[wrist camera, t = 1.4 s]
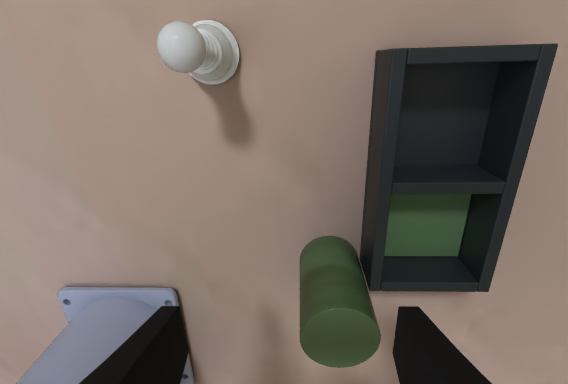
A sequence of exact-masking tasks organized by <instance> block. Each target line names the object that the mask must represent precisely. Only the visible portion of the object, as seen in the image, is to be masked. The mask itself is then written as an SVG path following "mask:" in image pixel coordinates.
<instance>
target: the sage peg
mask: <svg viewBox="0 0 568 384" xmlns="http://www.w3.org/2000/svg"><path fill="white" fill-rule="evenodd" d="M380 340H381V334H380V330H379V326H378V323H377V319H376V316H375V313H374V309H373V306H372V303H371V299H370V296H369V292H368V289H367V286H366V282H365V279H364V276H363V272H362V269H361V265H360V262H359V259H358V255H357V252H356V250H355V249H354V247H353V246H352V245H351V244H350V243H349V242H348V241H346V240H344V239H342V238H339V237H334V236H325V237H320V238H317V239H315V240H313V241H311V242H310V243H309V244H307V245H306V246H305V248H304V249H303V251H302V253H301V256H300V343H301V346H302V348H303V350H304V352H305V353H306V354H307V355H308V356H309V357H310V358H311V359H312V360H314V361H315V362H317V363H319V364H322V365H325V366H329V367H338V368H340V367H350V366H354V365H357V364H360V363H362V362H364V361H366V360H367V359H369V358H370V357H371V356H372V355H373V354H374V353H375V352H376V350H377V349H378V347H379V344H380Z"/></svg>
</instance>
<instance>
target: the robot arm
mask: <svg viewBox="0 0 568 384" xmlns="http://www.w3.org/2000/svg"><path fill="white" fill-rule="evenodd" d="M58 298H59V300H60V303H61V305H62V308H63V310H64V313H65V316H66V318H67V321H68V323H69V324H68V325H67V326H66V327H65V328H64V329H63V330H62V331H61V333H60V334H59V335H58V336H57V337H56V338H55V339H54V341H53V342H52V343H51V344H50V345H49V346H48V347H47V349H46V350H45V351H44V352H43V353H42V354H41V355H40V357H39V358H38V359H37V360H36V361H35V362H34V363H33V365H32V366H31V367H30V368H29V369H28V370H27V371H26V373H25V374H24V375H23V376H22V377H21V378H20V379H19V381H18V382H17V383H16V384H194V377H193V372H192V367H191V362H190V357H189V348H188V343H187V339H186V334H185V330H184V325H183V320H182V316H181V311H180V306H179V303H178V298H177V294H176V292H175V291H174V290H173V289H171V288H135V287H63V288H62V289H61V290H60V291H59V292H58ZM168 300H169V301H171V302H169V301H168ZM393 356H394V361H395V365H396V370H397V374H398V378H399V382H400V384H492V383H491V382H490V381H489V380H488V379H486V378H485V377H484V376H483V375H482V374H481V373H480V372H479V371H478V370H477V369H476V368H475V367H474V366H473V365H472V363H471V362H470V361H469V360H468V359H467V358H466V357H465V356H464V355H463V354H462V353H461V352H460V351H459V350H458V349H457V348H456V347H455V346H454V345H453V344H452V343H451V342H450V341H449V339H448V338H447V337H446V336H445V335H444V334H443V333H442V332H441V331H440V330H439V329H438V328H437V326H436V325H435V324H434V323H433V322H432V321H431V320H430V319H429V318H428V316H427V315H426V314H425V313H424V312H423V311H422V310H421V309H420V308H419V307H399V309H398V316H397V324H396V331H395V339H394V347H393Z"/></svg>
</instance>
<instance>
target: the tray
mask: <svg viewBox="0 0 568 384" xmlns="http://www.w3.org/2000/svg"><path fill="white" fill-rule="evenodd" d="M557 47H558V44H526V45H494V46H463V47H432V48H407V49H406V48H401V49H387V50H378V51H376V58H375V70H374V83H373V96H372V109H371V122H370V134H369V147H368V160H367V173H366V185H365V198H364V211H363V224H362V237H361V249H360V262H361V265H362V268H363V271H364V275H365V278H366V281H367V285H368V288H369V290H370V291H380V290H381V291H456V292H476V291H478V292H488V291H489V288H490V284H491V281H492V277H493V274H494V270H495V267H496V263H497V260H498V256H499V252H500V249H501V245H502V242H503V238H504V235H505V231H506V228H507V224H508V221H509V217H510V214H511V210H512V206H513V203H514V199H515V196H516V192H517V189H518V185H519V182H520V178H521V175H522V171H523V167H524V164H525V160H526V157H527V153H528V150H529V146H530V143H531V139H532V136H533V132H534V128H535V125H536V121H537V118H538V114H539V111H540V107H541V104H542V100H543V97H544V93H545V89H546V86H547V82H548V79H549V75H550V72H551V68H552V65H553V61H554V58H555V54H556V51H557Z"/></svg>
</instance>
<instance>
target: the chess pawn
mask: <svg viewBox="0 0 568 384" xmlns="http://www.w3.org/2000/svg"><path fill="white" fill-rule="evenodd" d="M156 47H157V52H158V54H159V57H160V58H161V60H162V61H163V62H164V63H165V65H166V66H168V67H169V68H170V69H172V70H174V71H177V72H181V73H189V74H190V75H191V76H192V77H193V78H194V79H196V80H197V81H199V82H201V83H204V84H209V85H216V84H220V83H223V82H225V81H227V80H228V79H229V78H230V77H231V76H232V75H233V74H234V72H235V71H236V69H237V66H238V62H239V48H238V44H237V41H236V39H235V37H234V36H233V34H232V33H231V32H230V30H229V29H227V28H226V27H225V26H224V25H222V24H220V23H218V22H216V21H212V20H202V21H199V22H196V23H194V24H193V25H191V24H190V23H188V22H185V21H172V22H169V23H167V24H166V25H164V26H163V27H162V28H161V30H160V31H159V33H158V36H157V40H156Z"/></svg>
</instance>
